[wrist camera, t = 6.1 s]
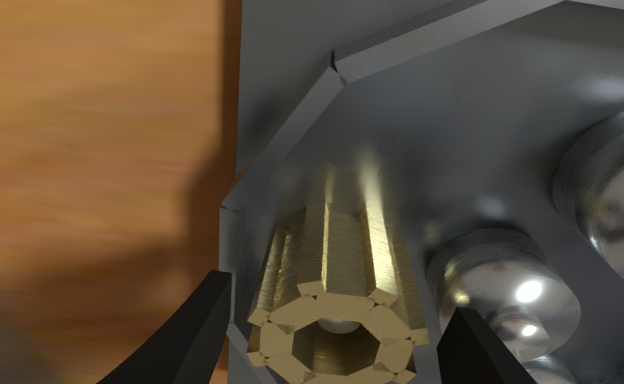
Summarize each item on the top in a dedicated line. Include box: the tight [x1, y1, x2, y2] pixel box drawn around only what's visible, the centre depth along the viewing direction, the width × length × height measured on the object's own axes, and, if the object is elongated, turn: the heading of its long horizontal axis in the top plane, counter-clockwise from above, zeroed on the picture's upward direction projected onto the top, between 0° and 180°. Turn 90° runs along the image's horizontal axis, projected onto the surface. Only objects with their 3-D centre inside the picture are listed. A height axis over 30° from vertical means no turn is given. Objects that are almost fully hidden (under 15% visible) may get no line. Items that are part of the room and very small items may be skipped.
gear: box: [246, 202, 430, 384], centre depth 13 cm, size 5×5×4 cm
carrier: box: [219, 0, 624, 384], centre depth 13 cm, size 20×20×5 cm
